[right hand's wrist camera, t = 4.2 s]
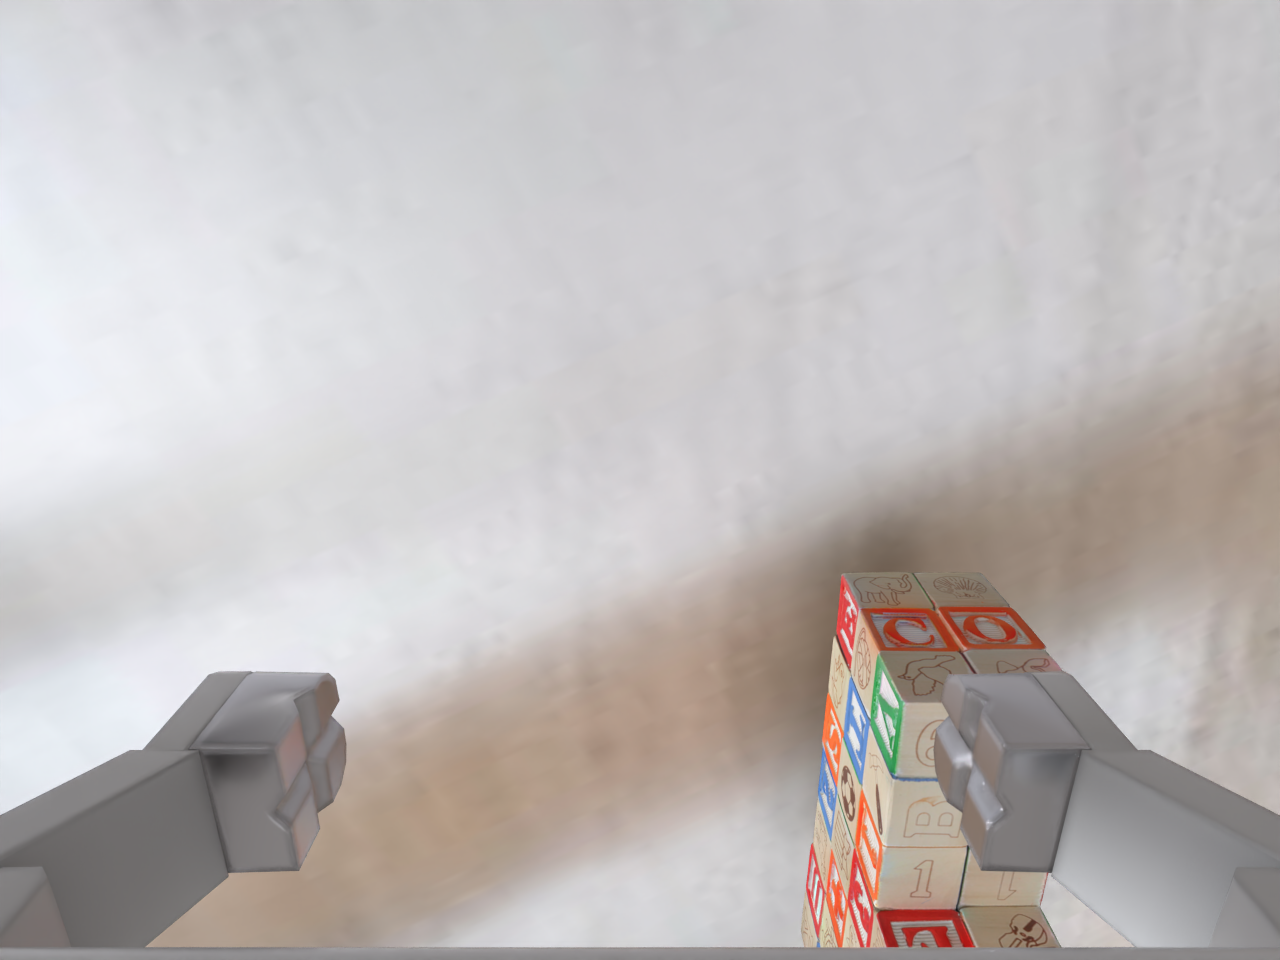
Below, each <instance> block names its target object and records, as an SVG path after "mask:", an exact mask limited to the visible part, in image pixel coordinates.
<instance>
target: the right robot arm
mask: <svg viewBox="0 0 1280 960" xmlns="http://www.w3.org/2000/svg"><path fill="white" fill-rule="evenodd" d="M338 702H339V696H338V691H337V686H336V681H335V679H334V678H333V677H332V676H331V675H330V674H329V673H299V672H251V671H227V672H216V673H213V674H209V675H208V676H207V677H206V678H205V679H204V681H203V682H202V683H201V684H200V685H199V686H198V687H197V689H196V690H195V691H194V692H193V693H192V694H191V695H190V696H189V698H188V699H187V700H186V701H185V702H184V703H183V704H182V706H181V707H180V708H179V709H178V710H177V711H176V712H175V714H174V715H173V716H172V717H171V718H170V719H169V720H168V721H167V723H166V724H165V725H164V726H163V727H162V728H161V729H160V731H159V732H158V733H157V734H156V735H155V736H154V737H153V739H152V740H151V741H150V742H149V743H148V744H147V745H146V747H145V748H144V749H143V750H129V751H127V752H125V753H123V754H121V755H119V756H117V757H115V758H113V759H112V760H110V761H108V762H106V763H104V764H102V765H100V766H98V767H96V768H94V769H92V770H90V771H88V772H86V773H84V774H82V775H80V776H78V777H76V778H74V779H72V780H70V781H68V782H66V783H64V784H62V785H60V786H58V787H56V788H54V789H52V790H50V791H48V792H46V793H44V794H42V795H40V796H38V797H36V798H34V799H32V800H30V801H28V802H26V803H24V804H22V805H20V806H18V807H16V808H14V809H12V810H10V811H8V812H6V813H4V814H2V815H0V960H1280V815H1278V814H1276V813H1274V812H1272V811H1270V810H1268V809H1266V808H1264V807H1262V806H1260V805H1258V804H1256V803H1254V802H1252V801H1250V800H1248V799H1246V798H1244V797H1242V796H1240V795H1238V794H1236V793H1234V792H1232V791H1230V790H1228V789H1226V788H1224V787H1222V786H1220V785H1218V784H1216V783H1214V782H1212V781H1210V780H1208V779H1206V778H1204V777H1202V776H1200V775H1198V774H1196V773H1194V772H1192V771H1190V770H1188V769H1186V768H1184V767H1182V766H1180V765H1178V764H1176V763H1174V762H1172V761H1170V760H1168V759H1166V758H1164V757H1162V756H1161V755H1159V754H1157V753H1155V752H1153V751H1151V750H1137V749H1136V748H1135V747H1134V745H1133V744H1132V743H1131V742H1130V741H1129V740H1128V739H1127V737H1126V736H1125V735H1124V734H1123V733H1122V732H1121V731H1120V729H1119V728H1118V727H1117V726H1116V725H1115V724H1114V723H1113V722H1112V720H1111V719H1110V718H1109V717H1108V716H1107V715H1106V714H1105V712H1104V711H1103V710H1102V709H1101V708H1100V707H1099V706H1098V704H1097V703H1096V702H1095V701H1094V700H1093V699H1092V698H1091V697H1090V695H1089V694H1088V693H1087V692H1086V691H1085V690H1084V689H1083V687H1082V686H1081V685H1080V684H1079V683H1078V682H1077V681H1076V679H1075V678H1074V677H1073V676H1072V675H1070V674H1068V673H1066V672H1064V671H1045V672H1024V673H989V674H948V676H947V678H946V680H945V682H944V684H943V689H942V695H941V702H942V704H943V706H944V708H945V709H946V711H947V713H948V715H949V716H948V717H947V718H946V719H945V720H944V721H943V722H942V723H941V724H940V725H939V726H938V727H937V728H936V733H935V741H934V749H933V751H934V763H935V772H936V776H937V779H938V783H939V786H940V788H941V791H942V793H943V795H944V797H945V799H946V801H947V802H948V803H949V804H951V805H952V806H953V807H955V808H956V809H958V810H959V811H960V812H962V819H961V825H960V830H961V832H962V834H963V836H964V838H965V840H966V842H967V844H968V846H969V848H970V850H971V852H972V854H973V856H974V858H975V860H976V862H977V864H978V866H979V868H980V870H981V871H1007V872H1043V873H1052V875H1051V876H1052V877H1053V878H1054V879H1055V880H1057V881H1058V882H1059V883H1060V884H1061V885H1062V886H1064V887H1065V888H1066V889H1067V890H1068V891H1070V892H1071V893H1072V894H1073V895H1074V896H1076V897H1077V898H1078V899H1079V900H1080V901H1081V902H1083V903H1084V904H1085V905H1086V906H1087V907H1089V908H1090V909H1091V910H1092V911H1093V912H1094V913H1096V914H1097V915H1098V916H1099V917H1100V918H1102V919H1103V920H1104V921H1105V922H1106V923H1108V924H1109V925H1110V926H1111V927H1112V928H1113V929H1115V930H1116V931H1117V932H1118V933H1119V934H1121V935H1122V936H1123V937H1124V938H1125V939H1127V940H1128V941H1129V942H1130V943H1131V944H1132V945H1134V946H1135V947H1091V948H1053V947H624V948H353V947H145V946H147V945H148V944H149V943H150V942H151V941H153V940H154V939H155V938H156V937H157V936H158V935H160V934H161V933H162V932H163V931H164V930H166V929H167V928H168V927H169V926H170V925H172V924H173V923H174V922H175V921H176V920H177V919H179V918H180V917H181V916H182V915H183V914H185V913H186V912H187V911H188V910H189V909H191V908H192V907H193V906H194V905H195V904H197V903H198V902H199V901H200V900H201V899H202V898H204V897H205V896H206V895H207V894H208V893H210V892H211V891H212V890H213V889H214V888H216V887H217V886H218V885H219V884H220V883H221V882H223V881H224V880H225V879H226V878H227V877H228V873H237V872H271V871H299V870H300V868H301V866H302V864H303V862H304V860H305V858H306V856H307V854H308V852H309V850H310V848H311V846H312V844H313V842H314V840H315V838H316V836H317V834H318V832H319V830H320V825H319V819H318V812H320V811H321V810H322V809H324V808H325V807H327V806H328V805H329V804H331V803H332V802H333V801H334V799H335V797H336V795H337V793H338V790H339V788H340V786H341V783H342V779H343V774H344V769H345V765H346V739H345V732H344V728H343V727H342V726H341V725H340V724H339V723H338V722H337V721H336V720H335V719H334V718H333V717H332V716H331V715H332V713H333V711H334V709H335V708H336V706H337V704H338Z"/></svg>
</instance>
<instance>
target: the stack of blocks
mask: <svg viewBox="0 0 1280 960" xmlns="http://www.w3.org/2000/svg"><path fill="white" fill-rule="evenodd" d="M836 631H837V635H836V636H835V637H834V639H833V648H832V657H831V667H830V677H829V686H828V687H829V692H828V695H827V702H826V711H825V719H824V728H823V737H822V744H823V752H822V762H821V770H820V779H819V788H818V796H819V797H818V801H817V810H816V819H815V828H814V838H813V843H812V845H811V850H810V858H809V866H808V875H807V883H806V892H805V898H804V906H803V915H802V925H801V933H802V938H803V943H804V947H1053V948H1061V946H1060V944H1059V942H1058V940H1057V938H1056V936H1055V934H1054V932H1053V930H1052V929H1051V927H1050V925H1049V923H1048V921H1047V919H1046V917H1045V915H1044V914H1043V912H1042V910H1041V908H1040V905H1041V901H1042V898H1043V893H1044V889H1045V884H1046V880H1047V876H1048V873H1043V872H1007V871H981V870H980V868H979V866H978V864H977V862H976V860H975V858H974V856H973V854H972V852H971V850H970V848H969V846H968V844H967V842H966V840H965V838H964V836H963V834H962V832H961V830H960V825H961V819H962V812H960V811H959V810H958V809H956V808H955V807H953V806H952V805H951V804H949V803H948V802H947V801H946V799H945V797H944V795H943V793H942V791H941V788H940V786H939V783H938V779H937V776H936V772H935V763H934V751H933V749H934V741H935V733H936V728H937V727H938V726H939V725H940V724H941V723H942V722H943V721H944V720H945V719H946V718H947V717H948V716H949V715H948V713H947V711H946V709H945V708H944V706H943V704H942V702H941V695H942V689H943V684H944V682H945V680H946V678H947V676H948V674H989V673H1024V672H1045V671H1062V670H1061V668H1060V667H1059V666H1058V664H1057V663H1056V662H1055V661H1054V660H1053V659H1052V658H1051V656H1050V655H1049V654H1048V653H1047V652H1046V647H1045V645H1044V644H1043V642H1042V641H1041V640H1040V639H1039V638H1038V637H1037V636H1036V634H1035V633H1034V632H1033V631H1032V630H1031V628H1030V627H1029V626H1028V625H1027V624H1026V623H1025V622H1024V621H1023V619H1022V618H1021V617H1020V616H1019V615H1018V614H1017V612H1016V611H1015V610H1013V609H1012V608H1010V606H1009V604H1008V603H1007V602H1006V601H1005V600H1004V598H1003V597H1002V596H1001V595H1000V594H999V593H998V592H997V591H996V589H995V588H994V587H993V586H992V585H991V584H990V583H989V582H988V580H987V579H986V578H985V577H984V576H983V575H982V574H981V573H909V572H859V573H844V574H842V577H841V588H840V599H839V609H838V619H837V629H836Z"/></svg>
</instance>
